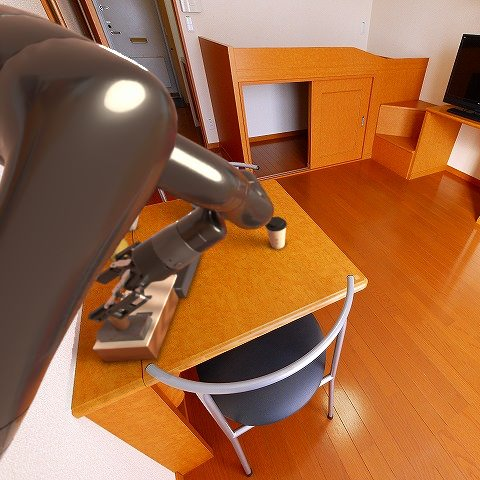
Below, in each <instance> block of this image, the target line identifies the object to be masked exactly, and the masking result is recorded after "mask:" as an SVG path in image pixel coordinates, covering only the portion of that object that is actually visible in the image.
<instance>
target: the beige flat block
mask: <svg viewBox="0 0 480 480" xmlns="http://www.w3.org/2000/svg"><path fill="white" fill-rule="evenodd" d="M176 277H177V275H171V276H170V277H168V278H167V279H165V280H163V281H158V282H152V283H151V284H149V285H148V287H147V288H146V289H145V290H144V294H145V295H146V296H147V295H152V298H151V299H149V300H148V301H147V302H146V303H145V304H143V305H142V306H141V307H139V308H138V309H136V310H135V311H134V312H132V313H131V314H129V315H136V314H137V312H153V314H152V316H150V317H151V318H152V320H153V321H152V323H151V325H150V328H149V330H148V332H147V335H146V337H145V339H144V340H137V341H119V342H100V341H99V340H98V339H96V342H95V344H94V345H93V347H92V350H93V351H94V352H95V353H96V354H97V355H98V356H99V357H100V358H101V359H102V360H104V362H126V361H141V360H142V361H143V360H156V359H157V358H158V355H159V353H160V350H161V348H162V345H163V343H164V340H165V337H166V334H167V332H168V329H169V327H170V324H171V322H172V319H173V316H174V314H175V311H176V308H177V306H178V303H179V300H180V298H178V297H177V295H176V293H175V290H174V288H173V284H174V282H175V280H176ZM131 292H132V291H128V290H126V289H125V292H123V293H124V294H128V293H131ZM122 299H123V298H120V300H119V301H121V300H122ZM123 310H124V309H123ZM123 310H122V311H123Z"/></svg>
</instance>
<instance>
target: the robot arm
mask: <svg viewBox="0 0 480 480" xmlns="http://www.w3.org/2000/svg"><path fill="white" fill-rule="evenodd" d="M178 122H179V121H178V114H177V109H176V105H175V102H174V100H173V97H172V96H171V93H170V92H169V90H168V88H167V87H166V85H165V84H164V83H163V82H162V81H161V80H160V78H158V77H157V76H156V75H155V74H153V73H152V72H151V71H149V70H148V69H147V68H145V67H144V66H142V65H140V64H138V63H137V62H136V61H134V60H132V59H130V58H128V57H126V56H124V55H122V54H121V53H119V52H117V51H115V50H112V49H110V48H107V47H106V46H104V45H102V44H101V43H98V42H97V41H94V40H92V39H90V38H88V37H87V36H84V35H82V34H80V33H78V32H76V31H74V30H72V29H70V28H67V27H66V26H63V25H61V24H59V23H58V22H55V21H53V20H50V19H48V18H45V17H44V16H41V15H40V14H37V13H35V12H31V11H27V10H24V9H22V8H21V9H20V8H17V7H15V6H10V5H6V4H4V3H3V4H2V3H0V166H2V167H3V169H2V170H3V171H2V175H1V178H0V462H2V460H3V458H4V456H5V454H6V453H7V451H8V450H9V448H10V446H11V444H12V443H13V441H14V439H15V437H16V435H17V434H18V431H19V429H20V427H21V425H22V423H23V422H24V420H25V418H26V415H27V414H28V412H29V410H30V408H31V406H32V404H33V402H34V400H35V398H36V396H37V394H38V391H39V390H40V387H41V385H42V383H43V381H44V378H45V376H46V374H47V372H48V369H49V367H50V366H51V363H52V361H53V359H54V357H55V355H56V353H57V351H58V350H59V347H60V346H61V343H62V342H63V340H64V338H65V337H66V334H67V333H68V331H69V329H70V327H71V325H72V324H73V322H74V320H75V318H76V316H77V315H78V313H79V311H80V309H81V308H82V306H83V303H84V302H85V300H86V298H87V296H88V295H89V293H90V291H91V289H92V288H93V286H94V284H95V283H96V282H97V283H99V284H102V285H108V284H109V283H111V282H112V281H114V280H115V279H117V278H118V277H119V280H118V283H117V284H116V285H115V286H114V288H112V290H111V296H110V297H109V299H108V300H107V301H106V302H107V303H106V304H105V302H103V303H104V304H103V303H102V304H103V305H102V304H101V305H100V306H99V307H96V308H95V309H93V310H92V311H91V312H89V313H88V315H87V319H88V320H90V321H93V322H96V323H103V322H104V321H105V319H107V318H108V317H110V316H111V317H114V318H117V319H119V320H122V319H124V318H125V317H127V316H128V315H129V314H131V313H132V312H134V311H135V310H136V309H138V308H139V307H141V306H142V305H143V304H145V303H146V302H147V301H148V300H149V297H148V296H146V295H145V294H144V290H145V289H146V288H147V287H148V285H149V284H151V283H152V282H158V281H163V280H165V279H167V278H168V277H170V276H171V275H173V274H174V273H176V272H178V271H179V270H181V269H182V268H184V267H185V266H187V265H188V264H190V263H191V262H193V261H194V260H195V259H197V258H198V257H199V256H200V255H201V256H202V254H204V253H205V252H207V251H208V250H210V249H212V248H213V247H215V246H216V245H218V244H219V243H221V242H222V241H224V240H225V239H226V238H227V236H228V234H229V233H228V232H229V230H228V226H227V222H226V220H227V221H228V222H230V223H231V224H233V225H234V226H236V227H237V228H240V229H241V230H246V231H253V230H258V229H262V228H263V227H265V225H266V224H268V223H269V222H270V220H271V219H272V217H274V215H275V205H274V203H273V201H272V200H271V198H270V196H269V195H268V194H267V192H266V191H265V189H264V187H263V184H261V182H260V181H259V179H258V178H257V175H255V173H254V172H252V171H251V170H249V169H244V168H243V169H238V168H237V167H236V166H234V164H232V163H230V162H229V161H228V160H226V159H225V158H223V157H221V156H220V155H218V154H216V153H215V152H213V151H211V150H210V149H207V148H206V147H204V146H202V145H200V144H199V143H196V142H194V141H192V140H191V139H189V138H187V137H186V136H184V135H182V134H180V133H178V128H179V126H178V125H179V124H178ZM156 189H158V190H160V191H162V192H164V193H166V194H169V195H170V196H172V197H174V198H176V199H179V200H181V201H183V202H185V203H188V204H190V205H191V204H193V205H195V206H198V207H197V208H196V209H195V210H193V209H192V211H190V212H189V213H187V214H185V215H184V216H183V217H181V218H179V219H178V220H177V221H175V222H173V223H170V224H168V225H167V226H165V227H164V228H162V229H160V230H159V231H157V232H155V233H154V234H152V235H151V236H150V237H148V238H147V239H145V240H144V241H142V242H141V241H140V240H137V241H135V242H133V243H132V244H130V245H129V247H127V248H126V249H124V250H122V251H121V252H119V253H117V254H116V255H115V256H114V259H116V261H115V262H113V261H112V262H111V264H110V265H109V267H108V268H106V269H105V266H106V265H107V264H108V262H109V261H110V258H111V256H112V255H113V253H114V252H115V250H116V249H117V247H118V246H119V244H120V243H121V241H122V239H123V238H124V239H125V237H126V235H127V233H128V232H129V231H128V230H129V229H130V227H131V226H132V224H133V223H134V221H135V220H136V218H137V217H138V215H139V216H140V214H141V213H142V211H143V209H144V208H145V206H146V205H147V203H148V202H149V201H150V199H151V197H152V195H153V194H154V192H155V191H156ZM224 217H225V219H224ZM125 255H128V256H127V258H126V257H125ZM201 256H200V257H201ZM104 269H105V270H104ZM122 289H123V290H125V291H126V290H128V291H132V292H131V293H128V294H124V293H125V292H122ZM119 298H120V300H121V298H123V299H122V300H121V301H120V300H119V301H118V302H117V300H118V299H119ZM115 302H116V304H115ZM123 309H124V310H123ZM122 310H123V311H122Z"/></svg>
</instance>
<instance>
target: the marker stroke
mask: <svg viewBox="0 0 480 480" xmlns="http://www.w3.org/2000/svg"><path fill="white" fill-rule="evenodd" d="M148 314H149V315H150V316H152V314H153V312H137V314H136V315H148Z"/></svg>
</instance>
